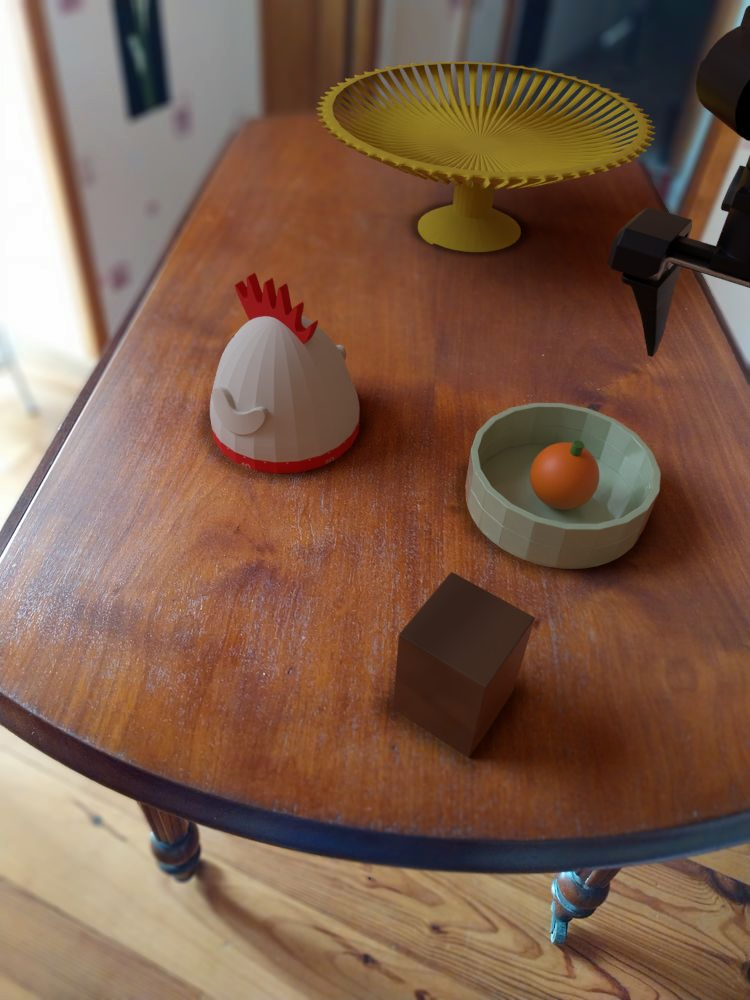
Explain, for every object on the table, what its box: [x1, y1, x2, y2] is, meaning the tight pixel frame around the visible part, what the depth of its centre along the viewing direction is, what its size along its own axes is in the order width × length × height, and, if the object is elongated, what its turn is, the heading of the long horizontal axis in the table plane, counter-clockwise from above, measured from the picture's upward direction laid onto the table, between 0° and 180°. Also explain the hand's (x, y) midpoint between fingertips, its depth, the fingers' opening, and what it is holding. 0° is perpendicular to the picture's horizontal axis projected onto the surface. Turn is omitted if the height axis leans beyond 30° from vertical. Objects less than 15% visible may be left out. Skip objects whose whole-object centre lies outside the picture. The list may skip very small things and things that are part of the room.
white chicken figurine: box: [209, 272, 361, 474], centre depth 66 cm, size 14×14×15 cm
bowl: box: [464, 402, 662, 570], centre depth 63 cm, size 15×15×5 cm
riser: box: [392, 571, 536, 759], centre depth 48 cm, size 6×6×9 cm
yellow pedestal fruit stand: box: [315, 60, 656, 253], centre depth 95 cm, size 40×40×15 cm
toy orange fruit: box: [530, 440, 600, 510], centre depth 62 cm, size 6×6×6 cm
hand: (708, 375), depth 58 cm, fingers open, 9 cm apart
